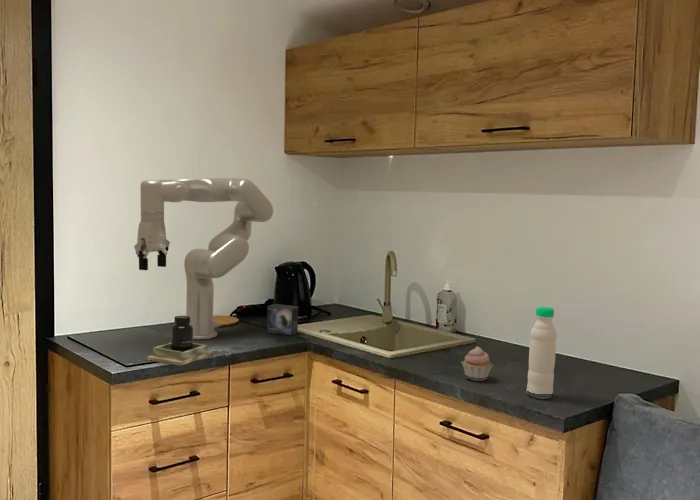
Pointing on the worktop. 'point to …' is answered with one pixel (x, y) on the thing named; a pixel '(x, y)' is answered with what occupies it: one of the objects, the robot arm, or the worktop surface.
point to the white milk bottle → (542, 353)
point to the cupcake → (477, 363)
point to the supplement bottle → (182, 334)
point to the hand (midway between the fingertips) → (152, 268)
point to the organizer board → (179, 354)
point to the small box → (282, 319)
